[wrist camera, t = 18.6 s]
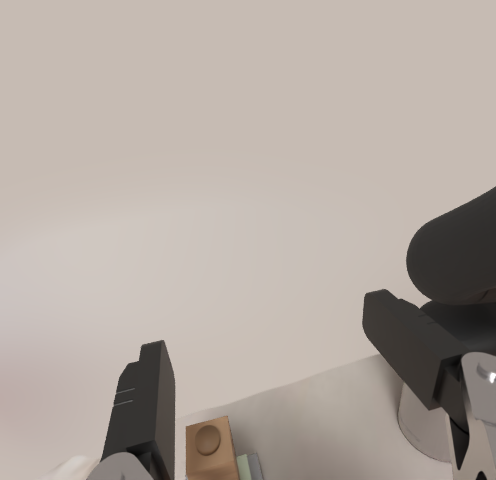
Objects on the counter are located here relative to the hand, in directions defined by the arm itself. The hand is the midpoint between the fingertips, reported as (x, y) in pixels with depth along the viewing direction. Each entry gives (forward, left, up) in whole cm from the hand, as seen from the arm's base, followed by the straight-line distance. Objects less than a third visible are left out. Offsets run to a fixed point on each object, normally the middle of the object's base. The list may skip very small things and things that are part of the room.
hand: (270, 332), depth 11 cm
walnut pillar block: (+5, -10, -31) cm, 33 cm away
